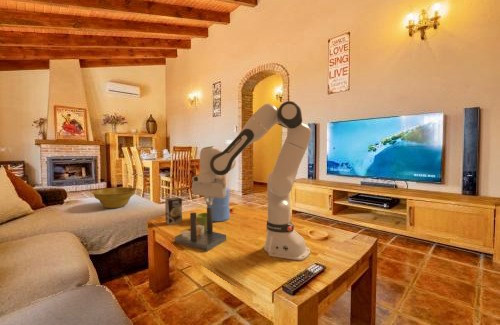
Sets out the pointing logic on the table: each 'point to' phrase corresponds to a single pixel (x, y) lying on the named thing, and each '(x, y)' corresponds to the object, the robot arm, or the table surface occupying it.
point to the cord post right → (209, 220)
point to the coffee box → (173, 210)
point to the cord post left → (193, 226)
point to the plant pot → (202, 219)
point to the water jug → (220, 207)
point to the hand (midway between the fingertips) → (209, 204)
